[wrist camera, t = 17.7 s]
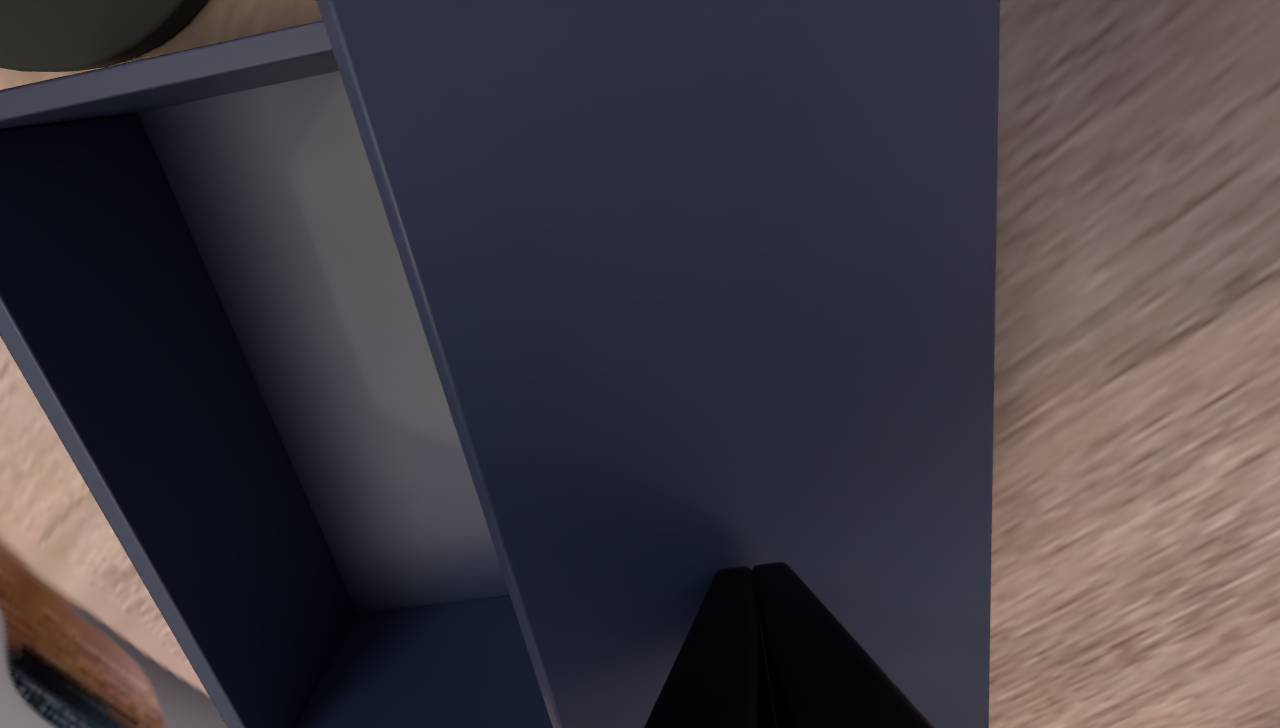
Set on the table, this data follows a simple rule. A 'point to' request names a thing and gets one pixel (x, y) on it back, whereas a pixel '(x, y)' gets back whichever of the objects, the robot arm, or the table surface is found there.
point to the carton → (255, 387)
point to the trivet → (85, 31)
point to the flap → (705, 311)
